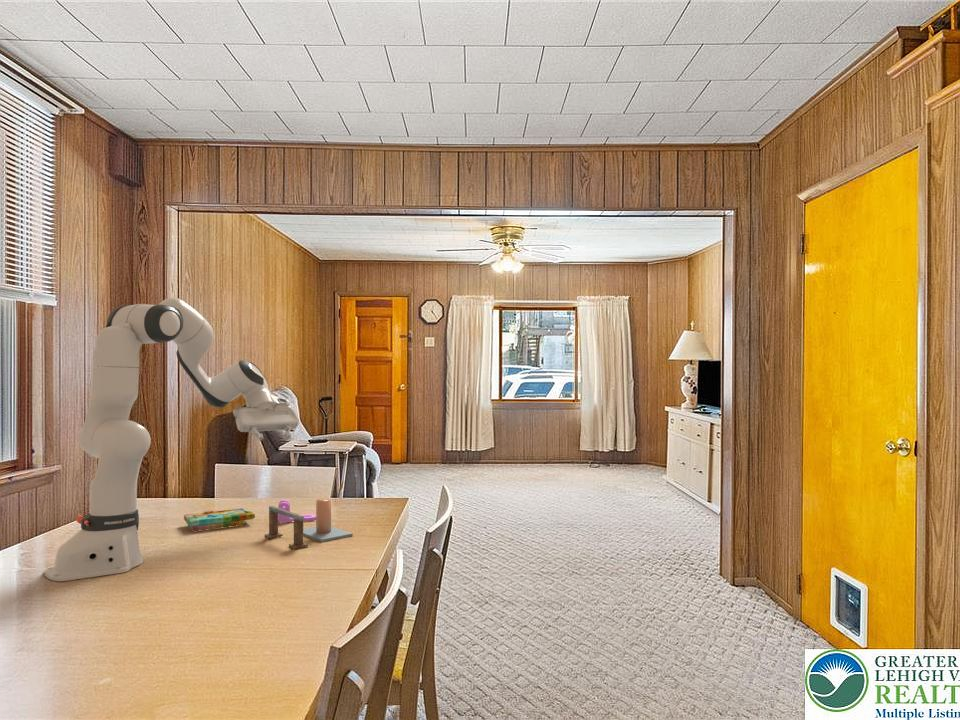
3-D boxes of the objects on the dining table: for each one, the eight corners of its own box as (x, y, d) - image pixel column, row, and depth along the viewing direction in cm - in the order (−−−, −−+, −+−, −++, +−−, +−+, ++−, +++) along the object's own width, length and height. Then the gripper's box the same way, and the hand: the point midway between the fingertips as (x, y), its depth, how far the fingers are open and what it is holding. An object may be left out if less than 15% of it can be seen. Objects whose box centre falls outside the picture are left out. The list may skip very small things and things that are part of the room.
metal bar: (299, 521, 198) (299, 516, 198) (268, 510, 213) (268, 506, 213) (303, 520, 199) (303, 516, 199) (272, 509, 214) (272, 505, 214)
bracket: (278, 523, 230) (278, 503, 230) (278, 520, 235) (278, 499, 235) (317, 521, 233) (317, 501, 233) (317, 517, 239) (317, 497, 239)
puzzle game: (183, 512, 226) (245, 505, 237) (183, 526, 226) (245, 519, 237) (190, 519, 217) (254, 511, 228) (190, 533, 217) (254, 525, 228)
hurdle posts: (295, 549, 197) (295, 521, 197) (264, 536, 212) (264, 510, 212) (307, 546, 200) (308, 519, 200) (276, 534, 214) (276, 509, 214)
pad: (321, 542, 205) (321, 539, 205) (295, 532, 217) (295, 530, 217) (352, 536, 212) (352, 533, 212) (326, 527, 224) (326, 524, 224)
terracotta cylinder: (320, 534, 211) (320, 502, 211) (313, 531, 215) (313, 499, 215) (333, 531, 214) (334, 500, 214) (326, 529, 218) (326, 498, 218)
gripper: (234, 400, 217) (246, 433, 210) (293, 399, 231) (306, 430, 224) (228, 414, 221) (240, 447, 213) (286, 412, 235) (300, 443, 227)
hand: (274, 438), depth 219 cm, fingers open, 8 cm apart
